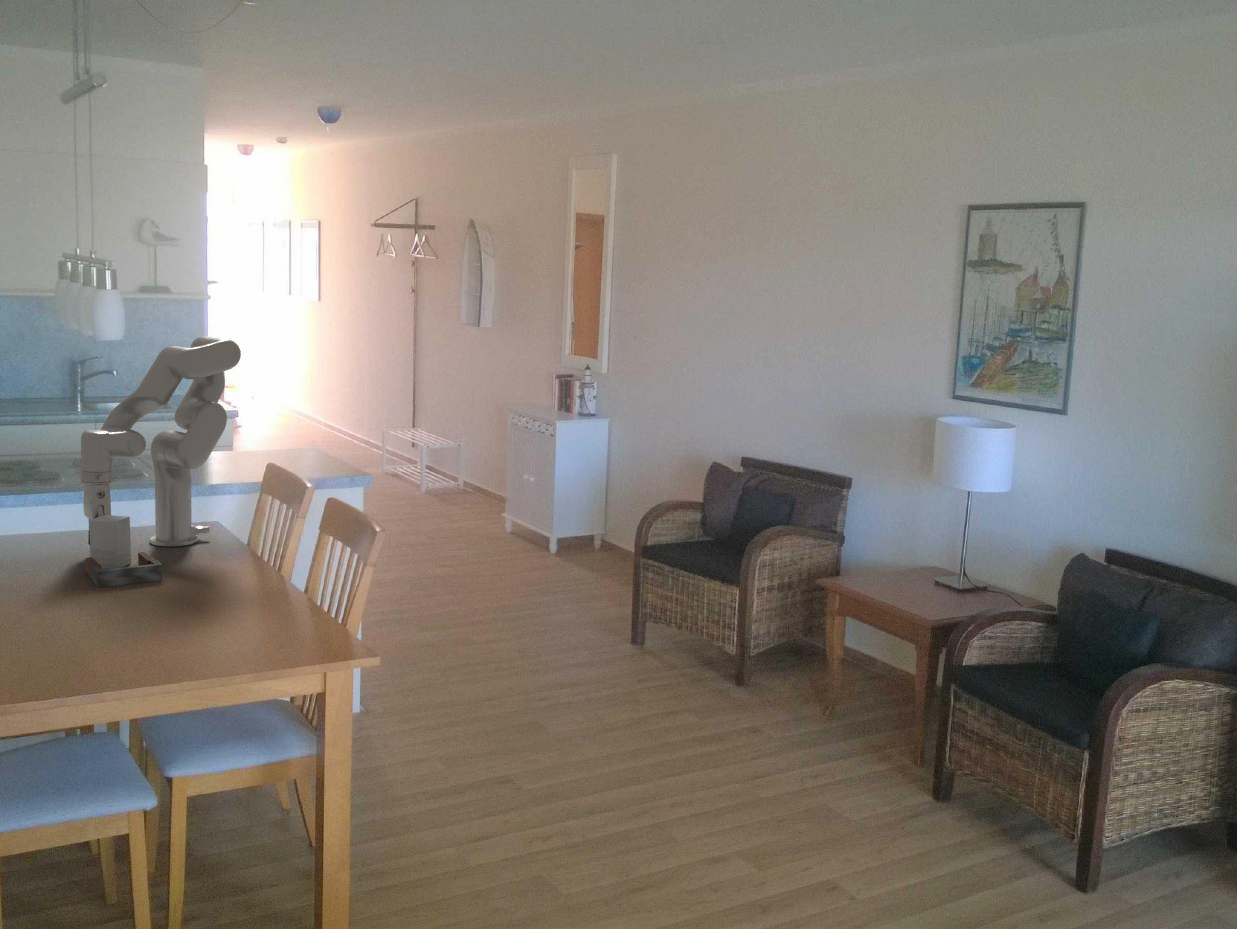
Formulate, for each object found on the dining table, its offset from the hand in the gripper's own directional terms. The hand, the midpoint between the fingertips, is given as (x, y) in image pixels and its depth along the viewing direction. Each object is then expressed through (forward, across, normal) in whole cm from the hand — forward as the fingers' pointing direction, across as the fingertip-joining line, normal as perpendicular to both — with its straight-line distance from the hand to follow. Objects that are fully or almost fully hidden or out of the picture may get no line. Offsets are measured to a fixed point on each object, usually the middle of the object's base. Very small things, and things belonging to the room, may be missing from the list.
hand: (95, 544), depth 299 cm
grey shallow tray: (+3, -24, -1) cm, 24 cm away
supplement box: (+3, -12, -1) cm, 12 cm away
